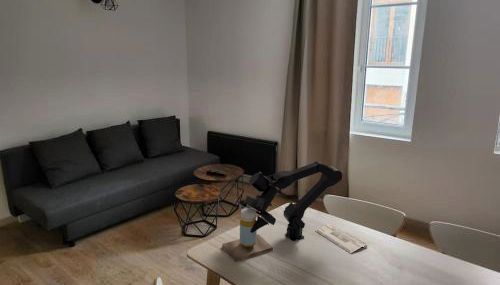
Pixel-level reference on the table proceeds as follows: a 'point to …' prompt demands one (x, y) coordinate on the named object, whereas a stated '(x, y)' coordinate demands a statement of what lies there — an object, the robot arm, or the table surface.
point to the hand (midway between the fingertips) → (245, 228)
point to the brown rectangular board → (246, 248)
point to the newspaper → (341, 238)
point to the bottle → (247, 227)
